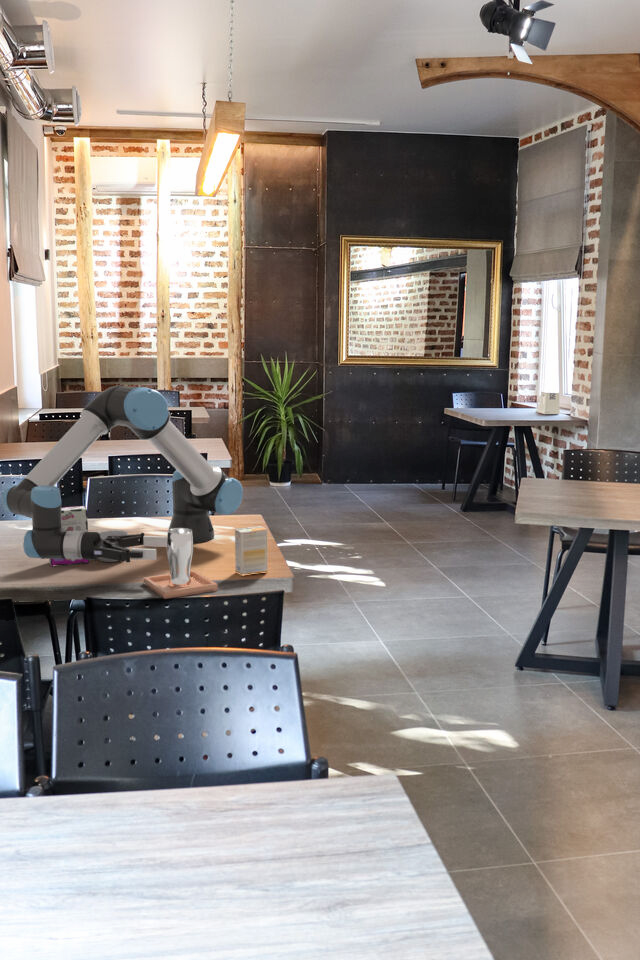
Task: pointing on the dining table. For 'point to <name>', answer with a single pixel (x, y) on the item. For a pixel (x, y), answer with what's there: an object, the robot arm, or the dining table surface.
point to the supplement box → (251, 550)
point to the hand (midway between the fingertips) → (161, 547)
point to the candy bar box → (72, 529)
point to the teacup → (111, 533)
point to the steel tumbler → (179, 556)
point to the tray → (164, 590)
